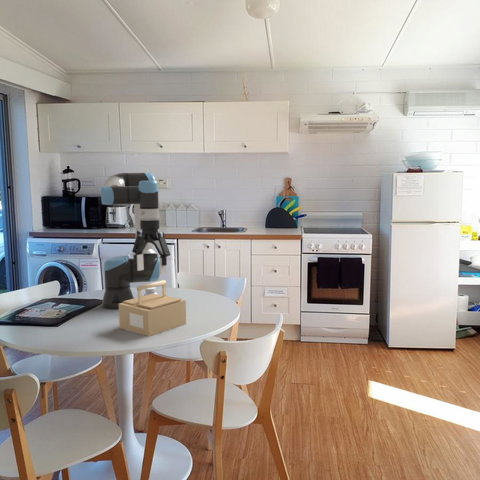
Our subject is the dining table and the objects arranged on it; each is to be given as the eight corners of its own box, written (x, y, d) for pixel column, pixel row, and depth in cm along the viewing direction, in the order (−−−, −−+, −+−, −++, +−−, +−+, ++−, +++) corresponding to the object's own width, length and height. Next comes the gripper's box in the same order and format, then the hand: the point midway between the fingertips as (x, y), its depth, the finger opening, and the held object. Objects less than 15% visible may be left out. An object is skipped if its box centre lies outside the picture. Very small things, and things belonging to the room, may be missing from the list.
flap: (135, 305, 182) (134, 286, 181) (165, 297, 195) (165, 279, 194) (151, 308, 176) (150, 289, 176) (181, 300, 189) (181, 282, 188)
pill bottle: (161, 312, 209) (160, 287, 208) (153, 315, 204) (152, 290, 202) (149, 310, 212) (148, 285, 211) (141, 314, 206) (140, 288, 205)
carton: (119, 327, 187) (118, 302, 186) (157, 316, 203) (156, 292, 201) (148, 336, 176) (147, 309, 175) (186, 323, 192) (185, 298, 190)
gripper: (122, 219, 189) (124, 270, 191) (163, 221, 173) (165, 276, 176) (136, 218, 195) (138, 267, 197) (178, 219, 179) (179, 273, 181)
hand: (151, 272), depth 186 cm, fingers open, 13 cm apart
